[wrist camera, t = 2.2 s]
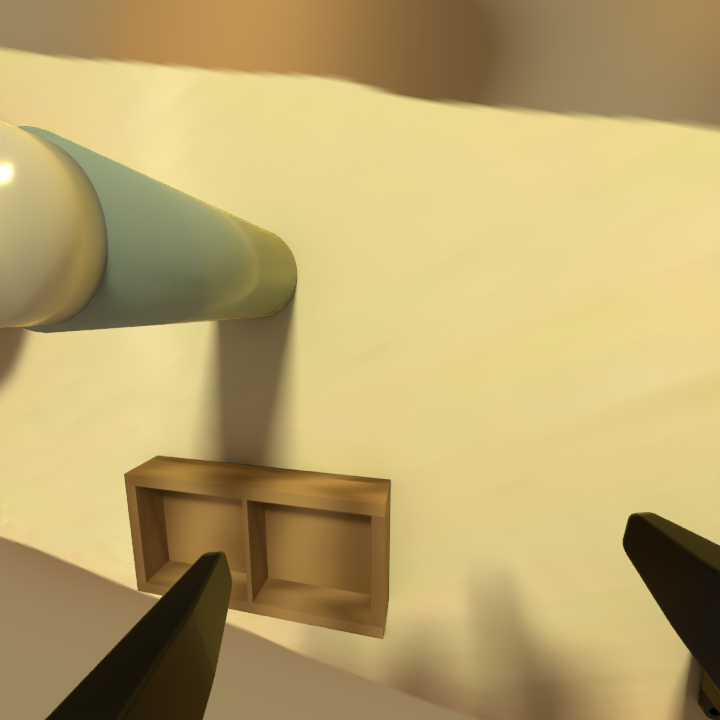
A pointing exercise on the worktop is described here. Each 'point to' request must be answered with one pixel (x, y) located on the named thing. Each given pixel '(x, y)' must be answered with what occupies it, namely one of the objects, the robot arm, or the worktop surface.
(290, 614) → the caddy
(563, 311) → the worktop surface
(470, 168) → the worktop surface
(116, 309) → the salt shaker
